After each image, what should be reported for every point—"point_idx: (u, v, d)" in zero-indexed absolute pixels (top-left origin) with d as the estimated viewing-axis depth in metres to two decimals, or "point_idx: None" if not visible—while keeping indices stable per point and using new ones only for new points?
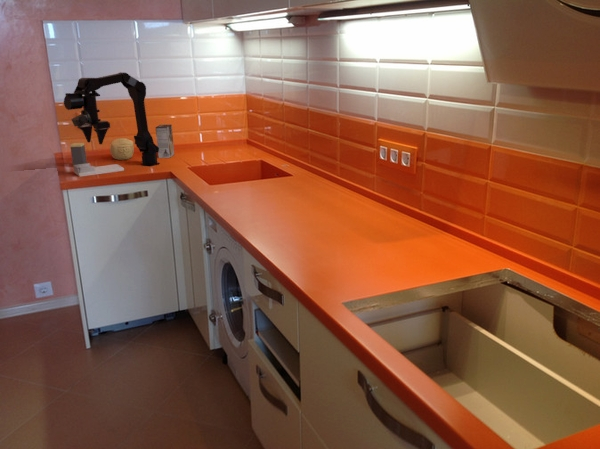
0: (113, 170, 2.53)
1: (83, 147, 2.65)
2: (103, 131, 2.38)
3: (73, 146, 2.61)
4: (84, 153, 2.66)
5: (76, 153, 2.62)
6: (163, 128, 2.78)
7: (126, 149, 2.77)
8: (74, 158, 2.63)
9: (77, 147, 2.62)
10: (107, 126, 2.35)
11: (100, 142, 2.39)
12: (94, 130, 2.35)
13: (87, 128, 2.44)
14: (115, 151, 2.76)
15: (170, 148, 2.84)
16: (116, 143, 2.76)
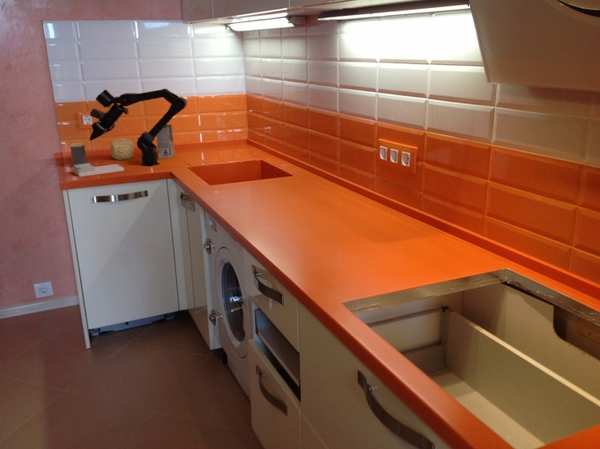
0: (113, 170, 2.53)
1: (83, 147, 2.65)
2: (98, 133, 2.56)
3: (73, 146, 2.61)
4: (84, 153, 2.66)
5: (76, 153, 2.62)
6: (163, 128, 2.78)
7: (126, 149, 2.77)
8: (74, 158, 2.63)
9: (77, 147, 2.62)
10: (99, 131, 2.53)
11: (90, 138, 2.58)
12: None
13: None
14: (115, 151, 2.76)
15: (170, 148, 2.84)
16: (116, 143, 2.76)
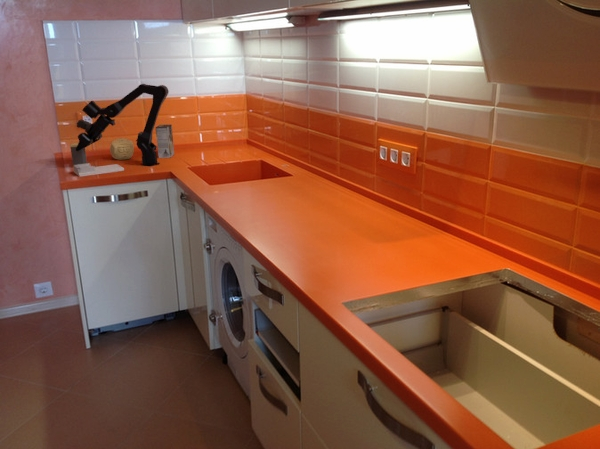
0: (113, 170, 2.53)
1: None
2: (84, 144, 2.58)
3: (73, 146, 2.61)
4: (84, 153, 2.66)
5: (76, 153, 2.62)
6: (163, 128, 2.78)
7: (126, 149, 2.77)
8: (74, 158, 2.63)
9: None
10: (85, 142, 2.54)
11: (76, 149, 2.59)
12: None
13: None
14: (115, 151, 2.76)
15: (170, 148, 2.84)
16: (116, 143, 2.76)
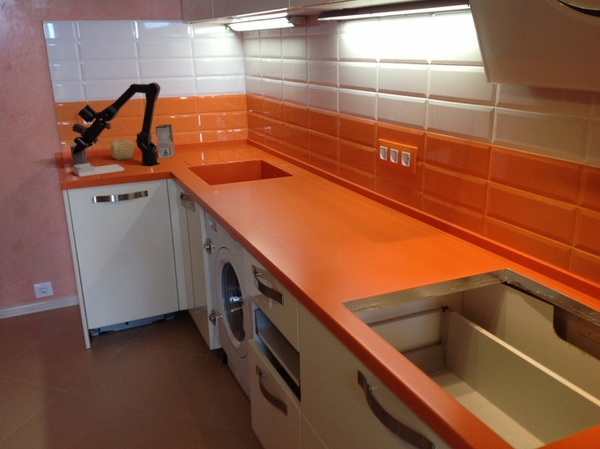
0: (113, 170, 2.53)
1: None
2: (81, 147, 2.60)
3: (73, 146, 2.61)
4: (84, 153, 2.66)
5: None
6: (163, 128, 2.78)
7: (126, 149, 2.77)
8: (74, 158, 2.63)
9: None
10: (81, 146, 2.55)
11: (73, 152, 2.62)
12: None
13: None
14: (115, 151, 2.76)
15: (170, 148, 2.84)
16: (116, 143, 2.76)
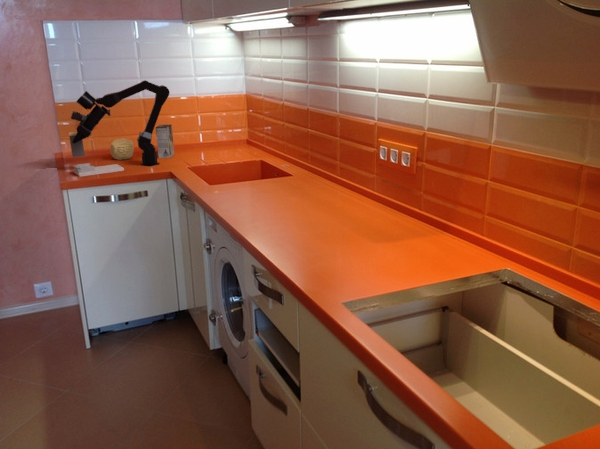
0: (113, 170, 2.53)
1: None
2: (82, 135, 2.51)
3: (72, 135, 2.51)
4: (82, 142, 2.57)
5: None
6: (163, 128, 2.78)
7: (126, 149, 2.77)
8: (73, 147, 2.53)
9: None
10: (85, 133, 2.46)
11: (73, 141, 2.52)
12: None
13: None
14: (115, 151, 2.76)
15: (170, 148, 2.84)
16: (116, 143, 2.76)
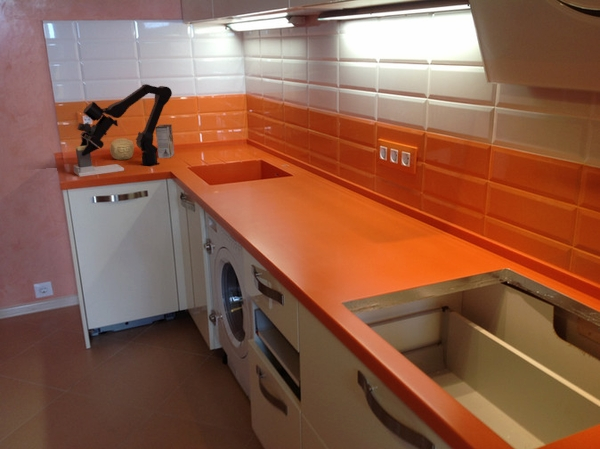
0: (113, 170, 2.53)
1: None
2: (93, 147, 2.46)
3: (81, 149, 2.46)
4: None
5: (84, 156, 2.48)
6: (163, 128, 2.78)
7: (126, 149, 2.77)
8: (82, 162, 2.48)
9: None
10: (99, 145, 2.43)
11: (83, 153, 2.45)
12: (87, 140, 2.44)
13: (87, 142, 2.53)
14: (115, 151, 2.76)
15: (170, 148, 2.84)
16: (116, 143, 2.76)
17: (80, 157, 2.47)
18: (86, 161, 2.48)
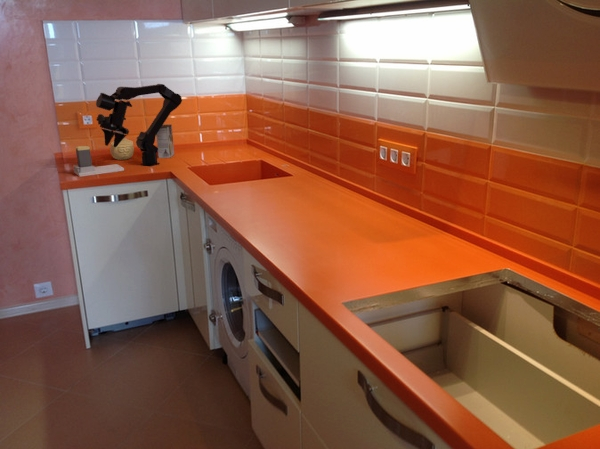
0: (113, 170, 2.53)
1: None
2: (110, 133, 2.47)
3: (81, 149, 2.46)
4: None
5: (84, 156, 2.48)
6: (163, 128, 2.78)
7: (126, 149, 2.77)
8: (82, 162, 2.48)
9: (85, 150, 2.47)
10: (108, 128, 2.43)
11: (105, 143, 2.48)
12: None
13: (119, 135, 2.58)
14: (115, 151, 2.76)
15: (170, 148, 2.84)
16: None
17: (80, 157, 2.47)
18: (86, 161, 2.48)
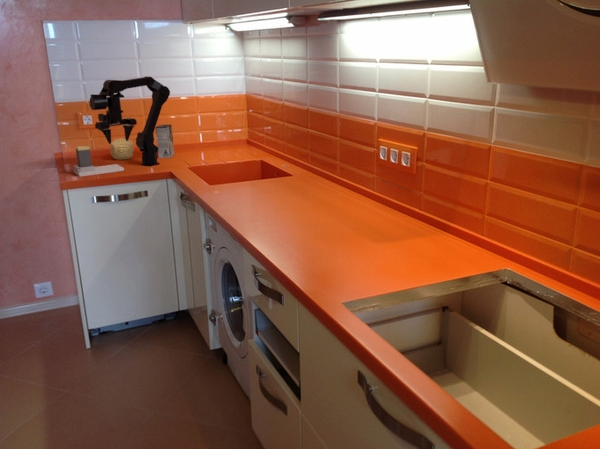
0: (113, 170, 2.53)
1: None
2: None
3: (81, 149, 2.46)
4: None
5: (84, 156, 2.48)
6: (163, 128, 2.78)
7: (126, 149, 2.77)
8: (82, 162, 2.48)
9: (85, 150, 2.47)
10: (100, 127, 2.44)
11: (108, 141, 2.50)
12: None
13: (126, 127, 2.56)
14: (115, 151, 2.76)
15: (170, 148, 2.84)
16: (116, 143, 2.76)
17: (80, 157, 2.47)
18: (86, 161, 2.48)
